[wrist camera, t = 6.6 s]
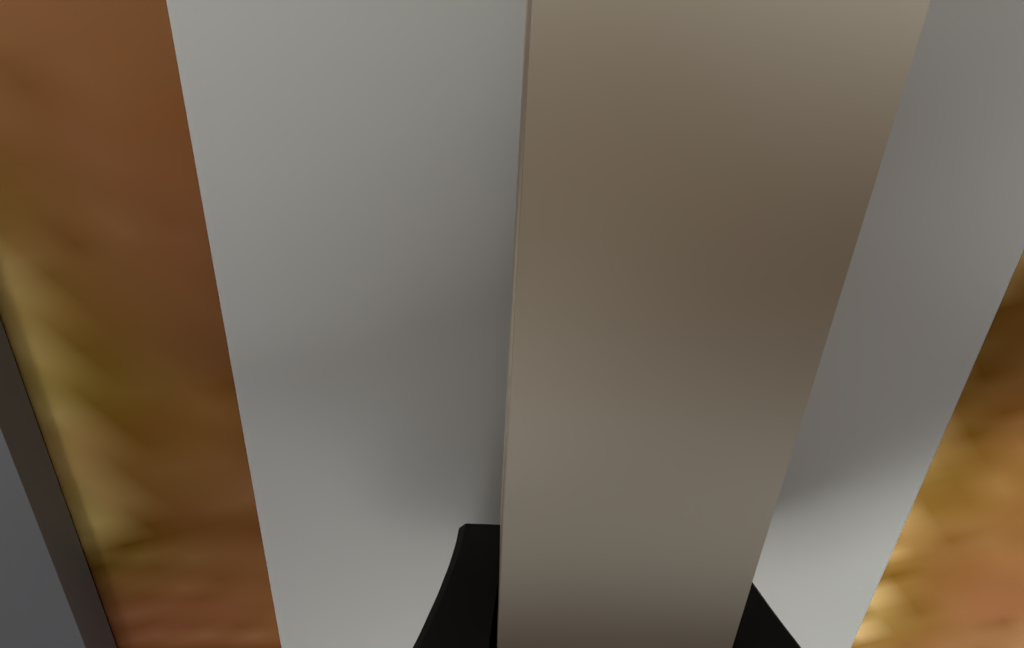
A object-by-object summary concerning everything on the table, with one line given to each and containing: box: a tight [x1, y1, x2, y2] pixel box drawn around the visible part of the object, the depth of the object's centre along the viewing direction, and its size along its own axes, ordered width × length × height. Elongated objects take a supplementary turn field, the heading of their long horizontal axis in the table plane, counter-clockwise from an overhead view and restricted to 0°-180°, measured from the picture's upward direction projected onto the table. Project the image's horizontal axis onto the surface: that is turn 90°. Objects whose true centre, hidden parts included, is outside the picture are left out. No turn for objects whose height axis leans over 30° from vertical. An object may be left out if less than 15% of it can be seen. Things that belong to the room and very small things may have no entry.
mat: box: [166, 0, 1024, 648], centre depth 13 cm, size 28×12×1 cm, turn 177°
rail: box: [495, 0, 931, 648], centre depth 11 cm, size 23×3×3 cm, turn 177°
